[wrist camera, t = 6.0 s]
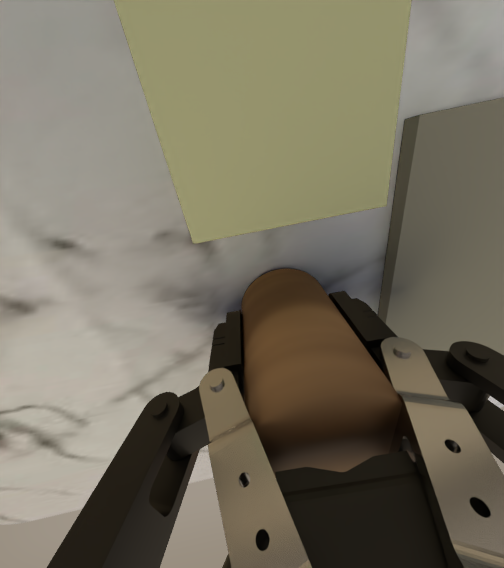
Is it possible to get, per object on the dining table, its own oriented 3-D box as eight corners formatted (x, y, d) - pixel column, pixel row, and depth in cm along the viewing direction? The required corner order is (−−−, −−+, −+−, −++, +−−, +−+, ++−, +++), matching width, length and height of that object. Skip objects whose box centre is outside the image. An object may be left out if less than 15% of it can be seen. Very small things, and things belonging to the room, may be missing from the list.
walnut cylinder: (233, 278, 11) (228, 412, 5) (323, 260, 11) (432, 376, 5) (250, 343, 13) (260, 490, 7) (324, 330, 13) (399, 467, 7)
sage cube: (174, 65, 7) (87, -81, 3) (315, 34, 7) (432, -168, 3) (212, 210, 10) (192, 243, 5) (319, 189, 10) (386, 205, 5)
